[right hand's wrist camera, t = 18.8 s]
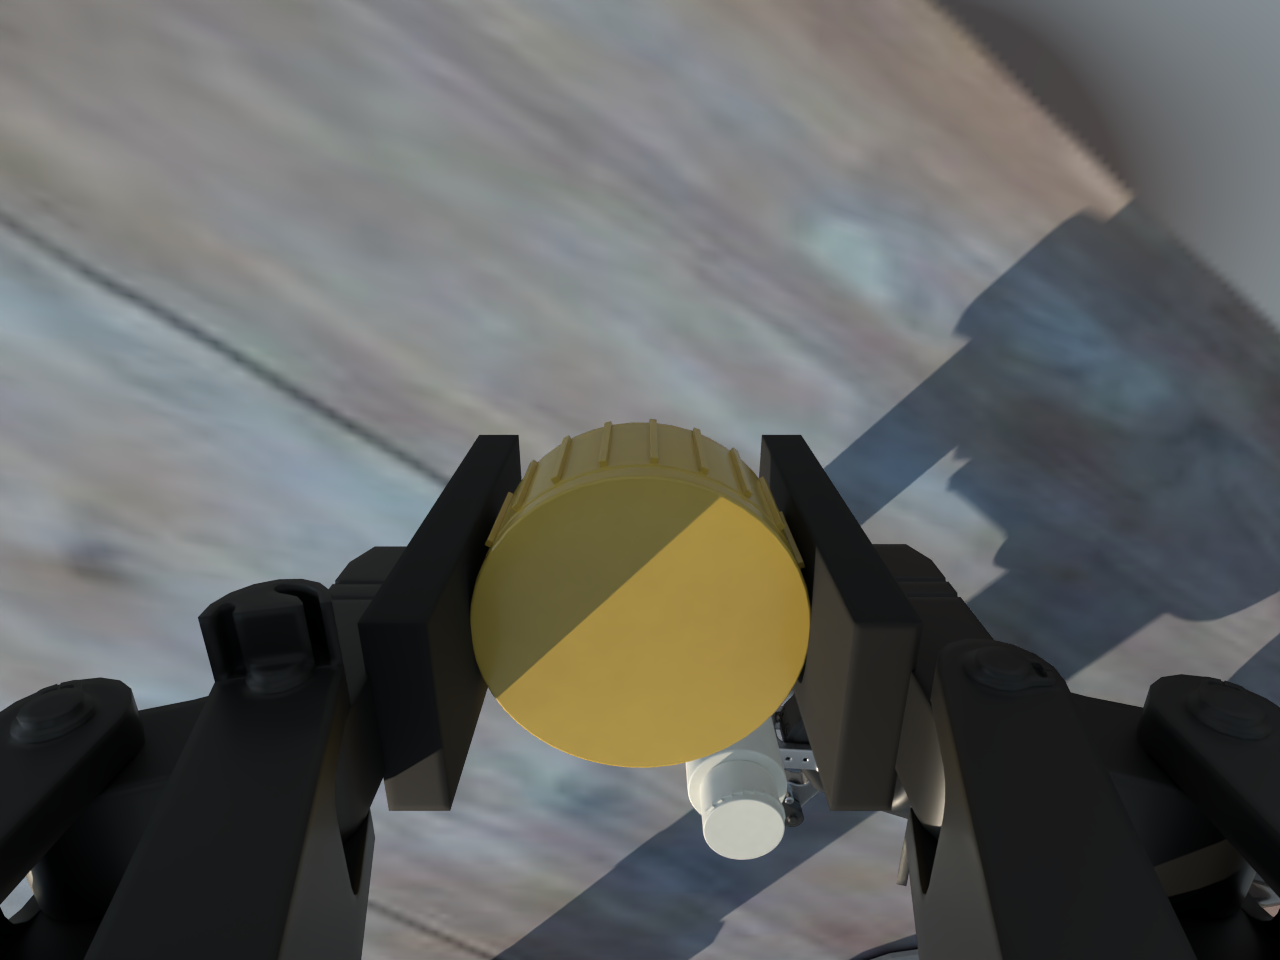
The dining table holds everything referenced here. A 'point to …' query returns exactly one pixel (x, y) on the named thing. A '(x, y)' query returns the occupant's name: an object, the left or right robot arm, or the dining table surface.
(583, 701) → the lid
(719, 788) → the jar
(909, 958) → the wall clock
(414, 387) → the dining table surface
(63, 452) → the dining table surface
